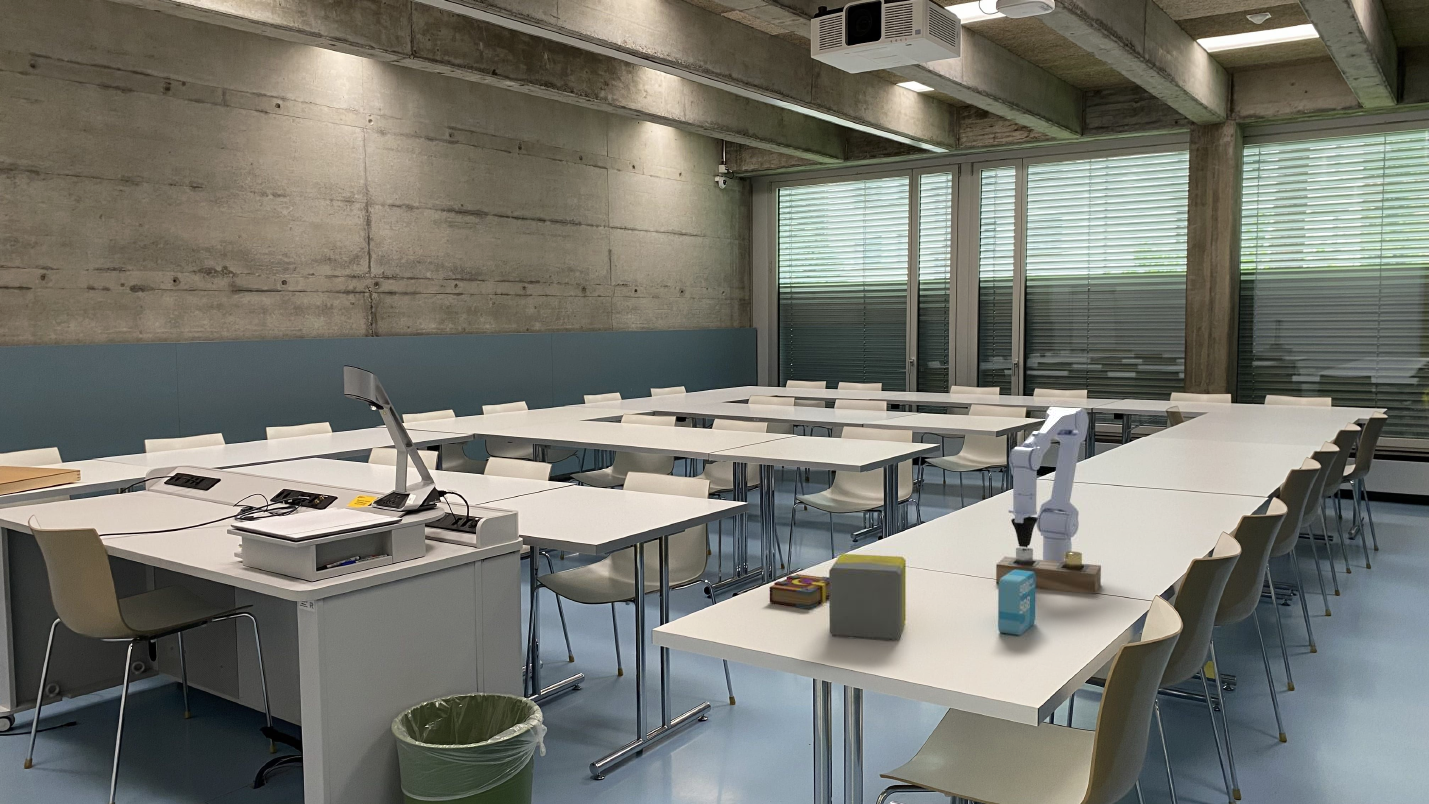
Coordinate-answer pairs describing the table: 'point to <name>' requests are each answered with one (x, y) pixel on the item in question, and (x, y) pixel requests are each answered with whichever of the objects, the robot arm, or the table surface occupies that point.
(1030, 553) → the steel peg
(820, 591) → the decorative book
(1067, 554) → the brass peg
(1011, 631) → the data package
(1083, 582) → the wooden block
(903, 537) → the table surface
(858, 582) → the yellow-topped grey cube
